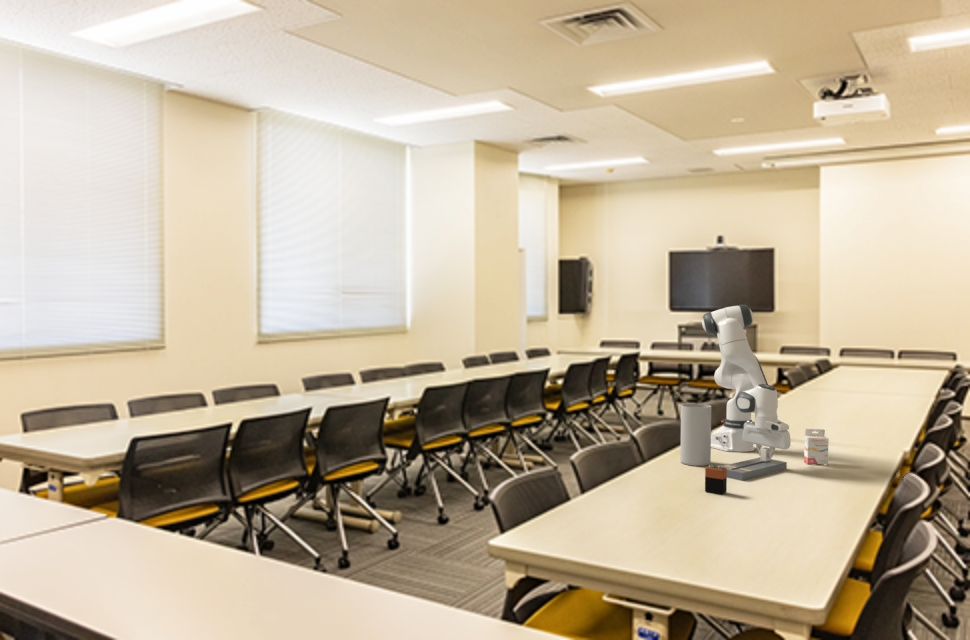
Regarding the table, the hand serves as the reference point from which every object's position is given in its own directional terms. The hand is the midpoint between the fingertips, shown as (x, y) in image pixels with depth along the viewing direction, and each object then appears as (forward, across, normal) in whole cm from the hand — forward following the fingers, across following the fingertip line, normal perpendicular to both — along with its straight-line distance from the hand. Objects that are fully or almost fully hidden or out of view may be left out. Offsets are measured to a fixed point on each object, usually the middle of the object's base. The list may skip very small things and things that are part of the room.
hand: (765, 456), depth 309 cm
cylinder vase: (+5, -24, -15) cm, 29 cm away
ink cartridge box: (+5, +8, +26) cm, 28 cm away
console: (+5, 0, -10) cm, 11 cm away
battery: (+5, +10, -49) cm, 50 cm away
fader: (+4, 0, 0) cm, 4 cm away
